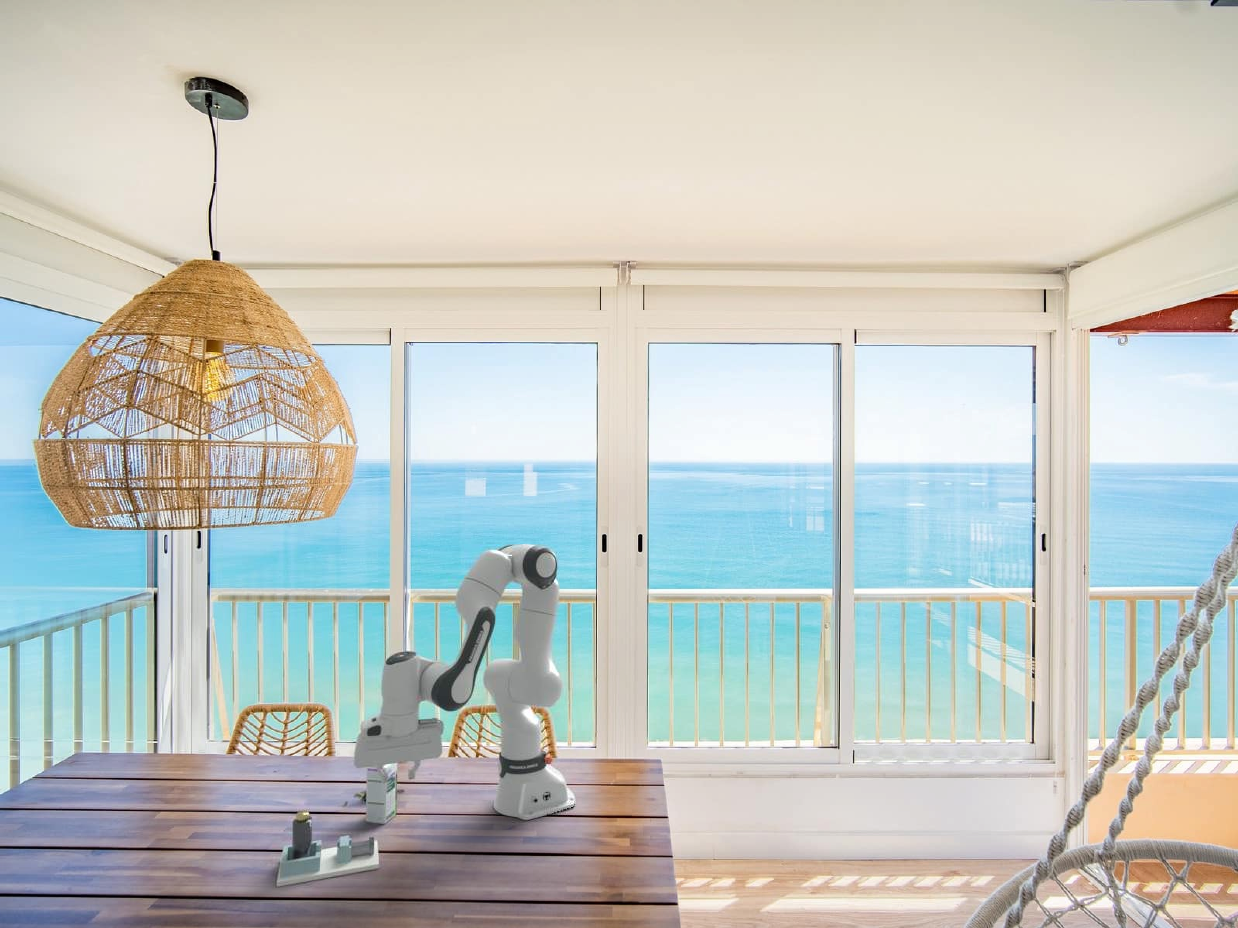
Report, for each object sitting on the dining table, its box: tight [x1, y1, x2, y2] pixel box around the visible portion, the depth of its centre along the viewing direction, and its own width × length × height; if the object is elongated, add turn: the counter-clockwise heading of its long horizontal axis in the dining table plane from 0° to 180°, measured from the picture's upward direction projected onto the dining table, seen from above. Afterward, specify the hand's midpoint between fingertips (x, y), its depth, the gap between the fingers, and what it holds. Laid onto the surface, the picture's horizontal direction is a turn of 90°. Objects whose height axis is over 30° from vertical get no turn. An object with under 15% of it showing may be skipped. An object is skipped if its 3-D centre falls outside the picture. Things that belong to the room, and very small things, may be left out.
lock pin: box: [336, 836, 375, 857], centre depth 157 cm, size 8×3×3 cm, turn 112°
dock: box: [276, 835, 380, 888], centre depth 155 cm, size 21×11×5 cm, turn 112°
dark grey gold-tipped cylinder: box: [291, 810, 313, 860], centre depth 153 cm, size 4×4×12 cm
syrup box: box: [365, 763, 398, 825], centre depth 177 cm, size 6×6×14 cm
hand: (398, 780), depth 161 cm, fingers open, 5 cm apart
